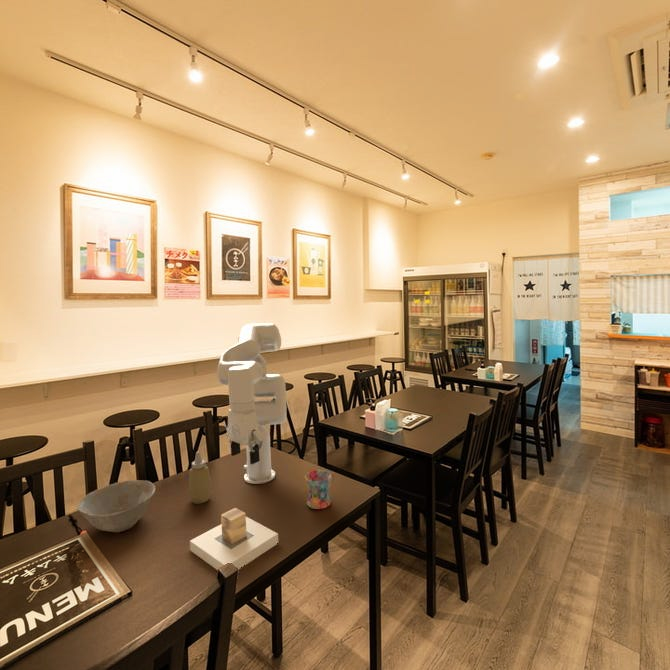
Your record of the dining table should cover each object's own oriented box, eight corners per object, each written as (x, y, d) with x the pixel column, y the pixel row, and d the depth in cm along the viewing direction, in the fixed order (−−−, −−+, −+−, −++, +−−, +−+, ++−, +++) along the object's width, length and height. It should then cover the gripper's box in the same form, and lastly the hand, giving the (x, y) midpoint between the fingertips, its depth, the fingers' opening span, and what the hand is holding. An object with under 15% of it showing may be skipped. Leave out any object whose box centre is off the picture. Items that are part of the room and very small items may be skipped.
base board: (190, 550, 114) (189, 540, 114) (241, 522, 128) (240, 513, 127) (226, 577, 102) (226, 565, 102) (278, 543, 116) (278, 533, 116)
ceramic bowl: (80, 556, 113) (77, 523, 112) (80, 520, 132) (77, 491, 131) (163, 529, 125) (161, 499, 124) (151, 500, 144) (149, 474, 143)
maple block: (222, 537, 115) (220, 514, 114) (236, 529, 118) (235, 507, 118) (232, 544, 111) (231, 520, 111) (246, 535, 115) (245, 513, 115)
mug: (318, 514, 131) (317, 484, 130) (300, 505, 138) (299, 476, 137) (342, 501, 140) (342, 472, 139) (324, 492, 146) (324, 465, 145)
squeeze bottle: (215, 494, 147) (213, 448, 145) (206, 506, 139) (203, 457, 137) (195, 494, 147) (192, 448, 146) (185, 505, 139) (181, 456, 138)
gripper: (215, 403, 124) (219, 455, 126) (249, 414, 113) (252, 470, 115) (235, 398, 129) (238, 447, 132) (269, 407, 118) (272, 461, 121)
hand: (245, 458), depth 123 cm, fingers open, 9 cm apart
